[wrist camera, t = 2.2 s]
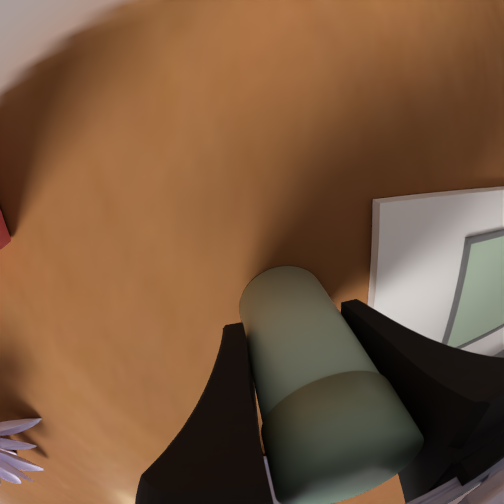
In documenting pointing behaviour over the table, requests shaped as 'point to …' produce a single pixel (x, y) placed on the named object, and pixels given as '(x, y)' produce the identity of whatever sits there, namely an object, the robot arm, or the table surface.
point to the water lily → (4, 460)
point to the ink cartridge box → (3, 232)
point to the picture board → (442, 266)
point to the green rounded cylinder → (319, 394)
